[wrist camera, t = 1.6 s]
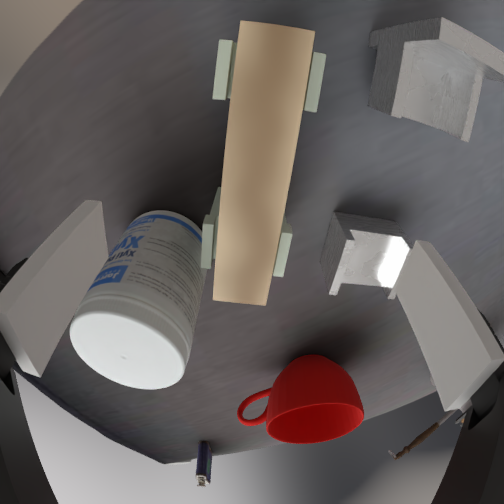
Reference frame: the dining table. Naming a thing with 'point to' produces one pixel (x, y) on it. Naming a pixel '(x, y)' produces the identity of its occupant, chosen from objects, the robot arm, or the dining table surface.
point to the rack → (211, 221)
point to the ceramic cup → (309, 402)
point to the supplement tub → (144, 303)
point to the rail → (259, 156)
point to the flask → (203, 463)
